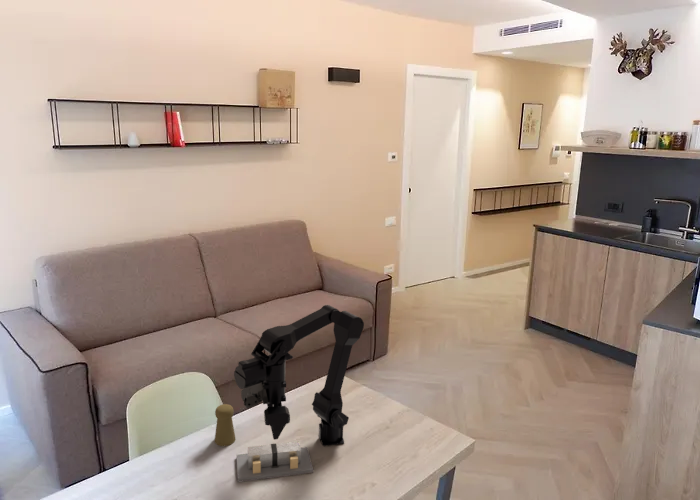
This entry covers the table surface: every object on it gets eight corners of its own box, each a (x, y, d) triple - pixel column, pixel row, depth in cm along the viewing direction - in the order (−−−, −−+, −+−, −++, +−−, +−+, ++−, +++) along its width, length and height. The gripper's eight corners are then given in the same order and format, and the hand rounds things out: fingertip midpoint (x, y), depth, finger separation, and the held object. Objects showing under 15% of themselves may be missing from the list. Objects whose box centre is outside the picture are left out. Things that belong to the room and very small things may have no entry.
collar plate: (307, 449, 153) (307, 437, 152) (313, 472, 143) (313, 459, 142) (236, 457, 148) (236, 445, 147) (237, 481, 139) (237, 468, 138)
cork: (230, 447, 152) (229, 413, 149) (210, 444, 153) (209, 410, 150) (238, 435, 158) (238, 402, 155) (220, 432, 159) (219, 399, 156)
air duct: (298, 453, 149) (298, 440, 148) (300, 462, 145) (300, 450, 144) (247, 459, 146) (247, 446, 145) (248, 469, 142) (248, 455, 141)
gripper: (241, 362, 145) (241, 412, 149) (244, 397, 128) (245, 453, 132) (281, 359, 148) (281, 409, 152) (290, 393, 131) (289, 448, 135)
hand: (273, 428), depth 143 cm, fingers open, 9 cm apart
